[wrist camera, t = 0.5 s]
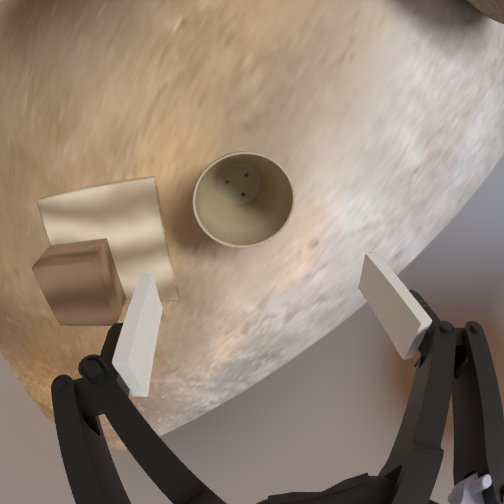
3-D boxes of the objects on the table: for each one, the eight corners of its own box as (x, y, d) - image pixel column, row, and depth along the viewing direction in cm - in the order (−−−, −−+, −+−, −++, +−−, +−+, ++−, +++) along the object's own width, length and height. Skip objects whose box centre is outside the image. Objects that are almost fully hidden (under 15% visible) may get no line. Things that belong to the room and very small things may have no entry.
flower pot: (227, 234, 36) (229, 264, 30) (181, 172, 31) (172, 190, 25) (294, 194, 34) (311, 217, 28) (253, 126, 29) (263, 132, 23)
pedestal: (51, 245, 32) (31, 267, 27) (106, 238, 33) (90, 262, 28) (73, 299, 37) (60, 325, 32) (126, 297, 38) (116, 325, 33)
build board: (40, 198, 30) (37, 200, 29) (155, 175, 31) (153, 178, 30) (77, 300, 39) (75, 304, 38) (178, 295, 40) (178, 299, 39)
